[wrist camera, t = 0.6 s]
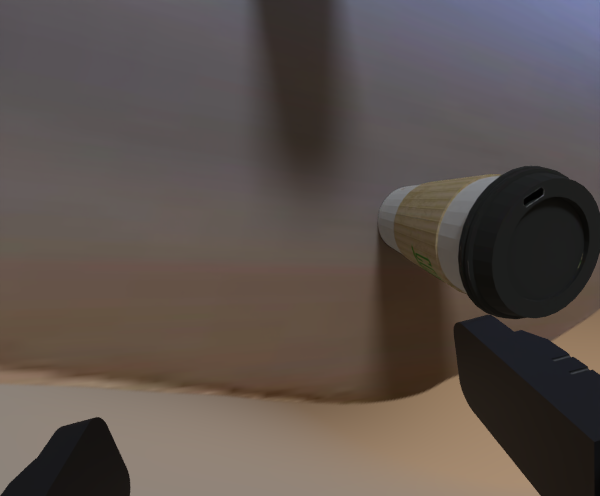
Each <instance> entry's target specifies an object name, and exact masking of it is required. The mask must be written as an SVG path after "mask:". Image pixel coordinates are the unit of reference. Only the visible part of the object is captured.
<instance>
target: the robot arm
mask: <svg viewBox="0 0 600 496" xmlns="http://www.w3.org/2000/svg"><path fill="white" fill-rule="evenodd" d="M454 339H455V347H456V355H457V363H458V371H459V379H460V385H461V388H462V391H463V394H464V396H465V398H466V400H467V402H468V404H469V406H470V408H471V409H472V410H473V412H474V413H475V414H476V415H477V417H478V418H479V419H480V420H481V422H482V423H483V424H484V425H485V426H486V428H487V429H488V430H489V432H490V433H491V434H492V435H493V437H494V438H495V439H496V440H497V442H498V443H499V444H500V445H501V447H502V448H503V449H504V450H505V451H506V453H507V454H508V455H509V456H510V458H511V459H512V460H513V461H514V463H515V464H516V465H517V467H518V468H519V469H520V470H521V472H522V473H523V474H524V475H525V477H526V478H527V479H528V480H529V482H530V483H531V484H532V485H533V487H534V488H535V489H536V490H537V492H538V493H539V494H540V495H541V496H600V375H599V374H598V373H596V372H595V371H594V370H589V369H588V367H587V366H586V365H585V364H583V363H581V362H580V361H579V360H577V359H576V358H574V357H570V355H569V354H568V353H567V352H566V351H564V350H563V349H561V348H560V347H558V346H556V345H555V344H554V343H552V342H551V341H549V340H548V339H545V338H542V337H539V336H537V335H534V334H531V333H528V332H525V331H523V330H520V331H516V332H514V331H512V330H511V329H510V328H508V327H507V326H506V325H504V324H503V323H502V322H500V321H499V320H498V319H496V318H495V317H493V316H492V315H485V316H481V317H477V318H474V319H470V320H466V321H462V322H458V323H456V324H455V326H454ZM1 496H130V478H129V474H128V470H127V468H126V466H125V463H124V461H123V459H122V457H121V455H120V453H119V450H118V448H117V446H116V444H115V442H114V439H113V437H112V435H111V433H110V431H109V429H108V426H107V424H106V423H105V421H104V420H103V419H101V418H99V417H96V418H92V419H88V420H84V421H81V422H77V423H73V424H70V425H66V426H62V427H60V428H59V429H58V430H57V431H56V432H55V433H54V435H53V436H52V437H51V439H50V440H49V442H48V443H47V445H46V446H45V447H44V449H43V450H42V452H41V453H40V455H39V456H38V457H37V459H35V460H34V461H33V462H32V463H31V464H29V465H28V466H27V467H26V468H25V469H24V470H23V471H22V472H21V473H20V474H19V475H18V476H17V477H16V478H15V479H14V480H13V481H11V483H9V485H8V486H7V488H6V489H5V490H4V492H3V493H2V494H1Z"/></svg>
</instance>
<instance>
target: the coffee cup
mask: <svg viewBox="0 0 600 496" xmlns="http://www.w3.org/2000/svg"><path fill="white" fill-rule="evenodd" d="M378 229H379V232H380V235H381V237H382V239H383V240H384V242H385V243H386V244H387V245H388V246H390V247H391V248H393V249H395V250H396V251H398V252H400V253H401V254H403V255H404V256H405V257H406V258H407V259H409V260H410V261H411V262H413V263H415V264H416V265H418V266H419V267H421V268H423V269H424V270H426V271H427V272H429V273H431V274H432V275H434V276H435V277H437V278H439V279H440V280H442V281H443V282H445V283H447V284H448V285H450V286H451V287H453V288H454V289H456V290H458V291H459V292H462V293H465V294H467V295H468V296H469V298H470V299H471V300H472V301H473V302H474V304H475V305H476V306H477V307H479V308H480V309H481V310H483V311H484V312H486V313H488V314H491V315H494V316H497V317H502V318H509V319H520V318H527V317H528V318H540V317H546V316H549V315H551V314H554V313H556V312H558V311H559V310H561V309H563V308H564V307H566V306H567V305H568V304H569V303H570V302H571V301H573V300H574V299H575V298H576V297H577V295H578V294H579V293H580V292H581V291H582V289H583V288H584V287H585V285H586V283H587V282H588V280H589V279H590V277H591V275H592V272H593V270H594V268H595V266H596V263H597V260H598V256H599V253H600V212H599V209H598V206H597V203H596V202H595V200H594V198H593V196H592V195H591V193H590V192H589V191H588V190H587V189H586V188H585V187H584V186H582V185H581V184H579V183H577V182H576V181H573V180H570V179H569V178H568V177H566V176H564V175H563V174H561V173H559V172H558V171H555V170H552V169H548V168H543V167H540V166H524V167H520V168H516V169H512V170H510V171H508V172H507V173H505V174H503V175H499V174H488V175H481V176H473V177H465V178H458V179H450V180H442V181H435V182H428V183H424V184H421V185H416V186H407V187H402V188H399V189H397V190H395V191H393V192H392V193H391V194H390V195H389V196H388V197H387V198H386V199H385V201H384V202H383V204H382V206H381V208H380V211H379V215H378Z"/></svg>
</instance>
